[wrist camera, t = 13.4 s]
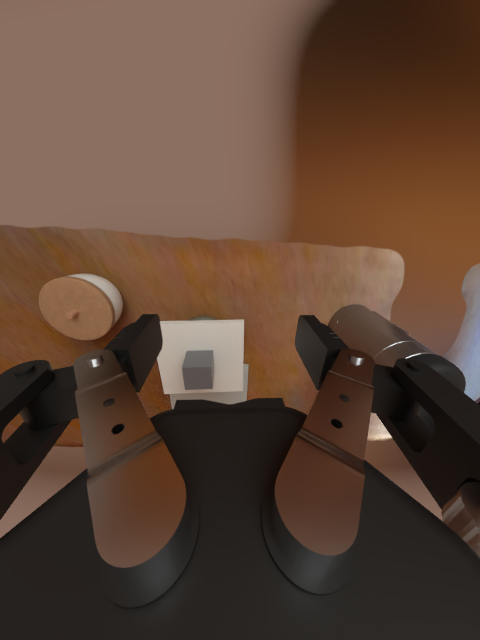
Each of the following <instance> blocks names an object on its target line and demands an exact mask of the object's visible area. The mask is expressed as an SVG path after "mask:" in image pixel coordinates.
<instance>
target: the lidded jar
mask: <svg viewBox="0 0 480 640" xmlns="http://www.w3.org/2000/svg"><path fill="white" fill-rule="evenodd" d="M39 306H40V310H41V312H42V314H43V316H44V317H45V319H46V320H47V321H48V323H49V324H50V325H51V326H52V327H53V328H55V329H56V330H57V331H59V332H60V333H62V334H64V335H66V336H68V337H71V338H74V339H78V340H95V339H98V338H100V337H102V336H104V335H105V334H106V333H108V332H109V330H110V329H111V328H112V327H113V326H114V325H115V323H116V322H117V321H118V319H119V318H120V316H121V313H122V310H123V300H122V297H121V294H120V292H119V291H118V289H117V288H116V287H115V286H114V285H113V284H112V283H111V282H110V281H108V280H106V279H105V278H103V277H100V276H97V275H93V274H74V275H69V276H65V277H60V278H57V279H54V280H51V281H50V282H48V283H46V284H45V285H44V286H43V288H42V289H41V291H40V294H39Z"/></svg>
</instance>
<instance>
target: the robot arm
mask: <svg viewBox="0 0 480 640" xmlns="http://www.w3.org/2000/svg"><path fill="white" fill-rule="evenodd" d="M162 345H163V338H162V332H161V326H160V320H159V316H158V315H157V314H143V315H142V316H141V317H140V318H139V319H138V320H137V321H136V322H135V323H131V324H130V325H128V326H126V327H124V328H123V329H122V330H121V332H120V333H119V334H118V335H117V336H116V338H114V339H113V340H112V341H111V342H110V343H109V344H108V345H107V346H106V347H105V348H104V349H103V350H96V351H92V352H89V353H87V354H84V355H82V356H81V357H79V358H78V359H77V360H76V361H75V362H74V364H73V366H71V367H65V368H60V369H55V370H52V368H51V366H50V364H49V362H48V361H45V360H35V361H29V362H26V363H22V364H19V365H17V366H15V367H12V368H10V369H9V370H7V371H5V372H4V373H3V374H1V375H0V520H1V518H2V517H3V516H4V514H5V513H6V511H7V510H8V508H9V507H10V505H11V504H12V503H13V501H14V500H15V499H16V497H17V496H18V494H19V493H20V492H21V490H22V489H23V487H24V486H25V484H26V483H27V482H28V480H29V479H30V478H31V476H32V475H33V473H34V472H35V471H36V469H37V468H38V466H39V465H40V464H41V462H42V461H43V459H44V458H45V457H46V455H47V454H48V452H49V451H50V450H51V448H52V447H53V445H54V444H55V443H56V441H57V440H58V438H59V437H60V436H61V434H62V433H63V431H64V430H65V428H66V427H67V426H68V424H69V423H70V421H71V420H72V419H76V418H79V422H80V428H81V434H82V440H83V446H84V452H85V458H86V464H87V469H86V470H84V471H83V472H82V473H81V474H79V475H78V476H77V477H76V478H75V479H73V480H72V481H71V482H70V483H68V484H67V485H66V486H65V487H64V488H62V489H61V490H60V491H58V492H57V493H56V494H55V495H54V496H52V497H51V498H50V499H48V500H47V501H46V502H45V503H44V504H42V505H41V506H40V507H39V508H37V509H36V510H35V511H34V512H32V513H31V514H30V515H29V516H27V517H26V518H25V519H24V520H22V521H21V522H20V523H19V524H17V525H16V526H15V527H14V528H13V529H11V530H10V531H9V532H8V533H6V534H5V535H4V536H3V537H1V538H0V640H480V402H479V403H478V404H477V403H476V402H475V401H473V400H472V399H471V398H470V397H468V396H467V395H466V394H464V390H465V385H466V382H465V377H464V375H463V373H462V372H461V371H460V369H459V368H458V367H456V366H455V365H454V364H452V363H451V362H449V361H448V360H446V359H445V358H443V357H441V356H440V355H438V354H436V353H435V352H434V351H432V350H431V349H429V348H427V347H426V346H424V345H423V344H421V343H419V342H418V341H416V340H415V339H413V338H412V337H410V336H409V334H408V333H407V332H406V331H404V330H402V329H401V328H400V327H398V326H396V325H395V324H393V323H392V322H390V321H389V320H387V319H385V318H384V317H382V316H381V315H379V314H378V313H376V312H374V311H371V310H369V309H368V308H366V307H364V306H362V305H349V306H347V307H344V308H342V309H341V310H339V311H338V312H337V313H336V314H335V315H334V316H333V318H332V319H331V321H330V324H329V327H328V326H327V325H325V324H323V323H320V321H319V320H318V319H317V318H316V317H315V316H314V315H300V317H299V319H298V325H297V331H296V337H295V346H296V350H297V352H298V354H299V356H300V358H301V359H302V361H303V363H304V365H305V367H306V369H307V371H308V373H309V375H310V377H311V379H312V381H313V383H314V385H315V387H316V389H317V390H319V392H318V395H317V397H316V399H315V401H314V403H313V405H312V407H311V409H310V412H309V414H308V415H306V414H304V413H302V412H300V411H298V410H296V409H293V408H289V407H285V405H284V402H283V399H282V398H257V399H252V400H248V401H244V402H240V403H235V404H224V403H219V402H214V401H209V400H204V399H196V400H176V403H175V406H174V409H170V410H167V411H164V412H162V413H159V414H157V415H155V416H153V417H152V418H149V416H148V414H147V412H146V410H145V408H144V406H143V404H142V402H141V401H140V399H139V397H138V395H137V393H136V392H140V390H141V388H142V386H143V384H144V382H145V380H146V378H147V376H148V374H149V373H150V371H151V369H152V367H153V365H154V363H155V361H156V359H157V357H158V355H159V353H160V351H161V349H162ZM371 412H372V413H376V414H377V416H378V417H379V419H380V420H381V422H382V423H383V425H384V426H385V427H386V429H387V430H388V432H389V433H390V435H391V436H392V438H393V439H394V441H395V442H396V444H397V445H398V447H399V448H400V449H401V451H402V452H403V454H404V455H405V457H406V458H407V460H408V461H409V463H410V464H411V465H412V467H413V469H414V470H415V471H416V473H417V474H418V476H419V477H420V478H421V480H422V482H423V483H424V484H425V486H426V488H427V489H428V490H429V492H430V493H431V495H432V496H433V498H434V499H435V501H436V502H437V504H438V505H439V507H440V508H441V510H442V518H443V521H441V520H440V519H439V518H438V517H436V516H435V515H434V514H433V513H431V512H430V511H429V510H427V509H426V508H425V507H424V506H422V505H421V504H420V503H419V502H417V501H416V500H415V499H413V498H412V497H411V496H410V495H409V494H407V493H406V492H405V491H404V490H402V489H401V488H400V487H398V486H397V485H396V484H395V483H393V482H392V481H390V480H389V479H388V478H387V477H386V476H385V475H383V474H382V473H381V472H379V471H378V470H377V469H376V468H374V467H373V466H372V465H371V464H369V463H368V462H367V461H366V460H364V457H365V450H366V443H367V436H368V429H369V422H370V415H371ZM18 413H19V414H20V415H21V417H22V419H23V420H24V422H23V423H22V424H21V425H20V426H19V428H18V429H17V430H16V431H15V432H14V433H13V434H12V435H11V436H10V437H9V438H8V439H7V440H6V441H5V442H4V444H3V442H2V439H1V437H2V432H3V430H4V428H5V427H6V425H7V424H8V423H9V422H10V421H11V420H12V419H13V418H14V417H15V416H16V415H17V414H18Z"/></svg>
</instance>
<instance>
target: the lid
mask: <svg viewBox="0 0 480 640" xmlns="http://www.w3.org/2000/svg"><path fill="white" fill-rule="evenodd" d="M160 326H161V332H162V338H163V345H162V349H161V351H160V353H159V355H158V357H157V361H158V366H159V370H160V375H161V380H162V385H163V390H164V394H179V393H206V392H233V391H243V353H244V320H199V321H160Z"/></svg>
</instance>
